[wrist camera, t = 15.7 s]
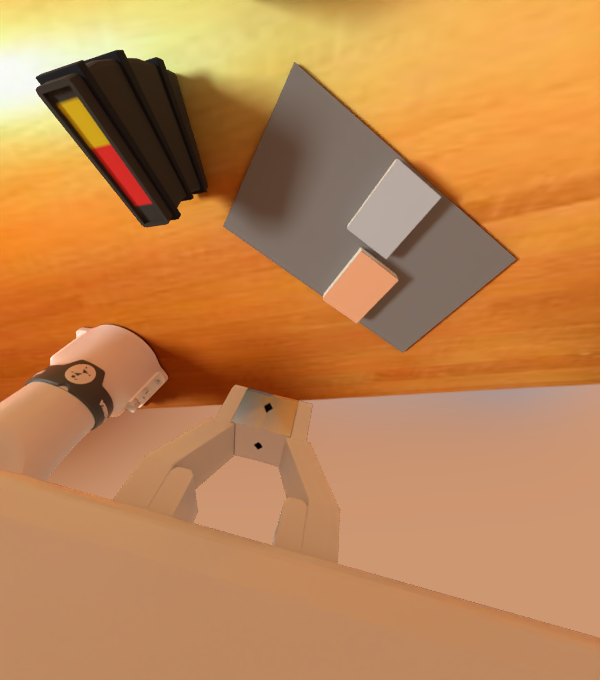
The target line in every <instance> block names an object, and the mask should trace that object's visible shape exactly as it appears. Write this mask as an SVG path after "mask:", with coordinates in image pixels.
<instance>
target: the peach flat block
mask: <svg viewBox="0 0 600 680" xmlns="http://www.w3.org/2000/svg"><path fill="white" fill-rule="evenodd" d="M397 282H398V277H397V275H396V274H395V273H394V272H393V271H391V270H390V269H389V268H388V267H386V266H385V265H384V264H382V263H381V262H380V261H379V260H377V259H376V258H375V257H373V256H372V255H371V254H369V253H368V252H367V251H366V250H364V249H363V248H362V247H361V248H360V249H359V250H358V251H357V253H356V254H355V255H354V256H353V258H352V259H351V260H350V261H349V263H348V264H347V265H346V266H345V268H344V269H343V270H342V271H341V273H340V274H339V275H338V276H337V278H336V279H335V280H334V281H333V283H332V284H331V285H330V286H329V288H328V289H327V290H326V291H325V293H324V295H323V299H322V300H324V301H325V302H326V303H328V304H329V305H331V306H332V307H334V308H335V309H336V310H338V311H339V312H341V313H342V314H344V315H345V316H346V317H348V318H349V319H351V320H352V321H354V322H355V323H356V324H357V323H358V322H359V321H360V320H361V319H362V318H363V317H364V315H365V314H366V313H367V312H368V311H369V310H370V309H371V308H372V307H373V306H374V305H375V304H376V303H377V302H378V301H379V300H380V299H381V298H382V297H383V296H384V295H385V294H386V293H387V292H388V291H389V290H390V289H391V288H392V287H393V286H394V285H395V284H396V283H397Z"/></svg>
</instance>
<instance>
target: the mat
mask: <svg viewBox="0 0 600 680" xmlns="http://www.w3.org/2000/svg"><path fill="white" fill-rule="evenodd" d="M395 159H399V160H400V161H401V162H402V163H403V164H404V165H406V166H407V167H408V168H409V169H410V170H411V171H412V172H413V173H415V174H416V175H417V176H418V177H419V178H420V179H421V180H423V181H424V182H425V183H426V184H427V185H428V186H429V187H430V188H432V189H433V190H434V191H435V192H436V193H437V194H438V195H439V196H441V198H440V199H439V201H438V202H437V203H436V204H435V205H434V206H433V207H432V208H431V210H430V211H429V212H428V213H427V214H426V215H425V216H424V217H423V219H422V220H421V221H420V222H419V223H418V224H417V225H416V226H415V228H414V229H413V230H412V231H411V232H410V233H409V234H408V235H407V237H406V238H405V239H404V240H403V241H402V242H401V243H400V244H399V246H398V247H397V248H396V249H395V250H394V251H393V252H392V253H391V255H390V256H389V257H388V258H387V259H385V258H384V257H382V256H381V255H380V254H379V253H377V252H376V251H375V250H373V249H372V248H371V247H370V246H368V245H367V244H366V243H364V242H363V241H362V240H361V239H359V238H358V237H357V236H356V235H354V234H353V233H352V232H350V231H349V230H348V229H347V225H348V224H349V223H350V221H351V220H352V218H353V217H354V216H355V214H356V213H357V212H358V210H359V209H360V207H361V206H362V205H363V203H364V202H365V201H366V199H367V198H368V196H369V195H370V194H371V192H372V191H373V190H374V188H375V187H376V185H377V184H378V183H379V181H380V180H381V179H382V177H383V176H384V174H385V173H386V172H387V170H388V169H389V167H390V166H391V165H392V163H393V162H394V161H395ZM224 227H225V228H226V229H228V230H229V231H231V232H232V233H233V234H235V235H236V236H238V237H239V238H241V239H242V240H243V241H245V242H246V243H248V244H249V245H250V246H252V247H253V248H255V249H256V250H258V251H259V252H260V253H262V254H263V255H265V256H266V257H268V258H269V259H270V260H272V261H273V262H275V263H276V264H277V265H279V266H280V267H282V268H283V269H285V270H286V271H287V272H289V273H290V274H292V275H293V276H294V277H296V278H297V279H299V280H300V281H302V282H303V283H304V284H306V285H307V286H309V287H310V288H311V289H313V290H314V291H316V292H317V293H319V294H320V295H321V296H323V295H324V293H325V291H326V290H327V289H328V288H329V286H330V285H331V284H332V283H333V281H334V280H335V279H336V278H337V276H338V275H339V274H340V273H341V271H342V270H343V269H344V268H345V266H346V265H347V264H348V263H349V261H350V260H351V259H352V258H353V256H354V255H355V254H356V253H357V251H358V250H359V249H360V248H361V247H362V248H363V249H364V250H366V251H367V252H368V253H369V254H371V255H372V256H373V257H375V258H376V259H377V260H379V261H380V262H381V263H382V264H384V265H385V266H386V267H388V268H389V269H390V270H391V271H393V272H394V273H395V274H396V275H397V277H398V282H397V283H396V284H395V285H394V286H393V287H392V288H391V289H390V290H389V291H388V292H387V293H386V294H385V295H384V296H383V297H382V298H381V299H380V300H379V301H378V302H377V303H376V304H375V305H374V306H373V307H372V308H371V309H370V310H369V311H368V312H367V313H366V314H365V315H364V317H363V318H362V319H361V320H360V321H359V322H360V323H361V324H363V325H364V326H365V327H367V328H368V329H370V330H371V331H372V332H374V333H375V334H377V335H378V336H380V337H381V338H382V339H384V340H385V341H387V342H388V343H390V344H391V345H392V346H394V347H395V348H397V349H398V350H399V351H401V352H402V353H403V352H404V351H405V350H406V349H408V348H409V347H410V346H411V345H412V344H414V343H415V342H416V341H417V340H419V339H420V338H421V337H422V336H423V335H425V334H426V333H427V332H428V331H430V330H431V329H432V328H433V327H434V326H436V325H437V324H438V323H439V322H441V321H442V320H443V319H444V318H445V317H447V316H448V315H449V314H450V313H452V312H453V311H454V310H455V309H456V308H458V307H459V306H460V305H461V304H462V303H464V302H465V301H466V300H467V299H469V298H470V297H471V296H472V295H473V294H475V293H476V292H477V291H478V290H480V289H481V288H482V287H483V286H484V285H486V284H487V283H488V282H489V281H491V280H492V279H493V278H494V277H495V276H497V275H498V274H499V273H500V272H502V271H503V270H504V269H505V268H506V267H508V266H509V265H510V264H511V263H513V262H514V261H515V260H516V258H514V257H513V256H512V255H511V254H510V253H509V252H508V251H507V250H505V249H504V248H503V247H502V246H501V245H500V244H499V243H498V242H496V241H495V240H494V239H493V238H492V237H491V236H490V235H489V234H487V233H486V232H485V231H484V230H483V229H482V228H481V227H480V226H478V225H477V224H476V223H475V222H474V221H473V220H472V219H471V218H469V217H468V216H467V215H466V214H465V213H464V212H463V211H462V210H460V209H459V208H458V207H457V206H456V205H455V204H454V203H453V202H451V201H450V200H449V199H448V198H447V197H446V196H445V195H444V194H442V193H441V192H440V191H439V190H438V189H437V188H436V187H435V186H433V185H432V184H431V183H430V182H429V181H428V180H427V179H426V178H424V177H423V176H422V175H421V174H420V173H419V172H418V171H417V170H415V169H414V168H413V167H412V166H411V165H410V164H409V163H408V162H406V161H405V160H404V159H403V158H402V157H401V156H400V155H399V154H397V153H396V152H395V151H394V150H393V149H392V148H391V147H390V146H388V145H387V144H386V143H385V142H384V141H383V140H382V139H381V138H379V137H378V136H377V135H376V134H375V133H374V132H373V131H372V130H370V129H369V128H368V127H367V126H366V125H365V124H364V123H363V122H361V121H360V120H359V119H358V118H357V117H356V116H355V115H354V114H352V113H351V112H350V111H349V110H348V109H347V108H346V107H345V106H343V105H342V104H341V103H340V102H339V101H338V100H337V99H336V98H334V97H333V96H332V95H331V94H330V93H329V92H328V91H327V90H325V89H324V88H323V87H322V86H321V85H320V84H319V83H317V82H316V81H315V80H314V79H313V78H312V77H311V76H310V75H308V74H307V73H306V72H305V71H304V70H303V69H302V68H301V67H299V66H298V65H297V64H296V63H295V62H294V65H293V67H292V69H291V71H290V74H289V76H288V78H287V81H286V83H285V85H284V88H283V90H282V92H281V94H280V97H279V99H278V101H277V104H276V106H275V108H274V111H273V113H272V115H271V117H270V120H269V122H268V124H267V127H266V129H265V131H264V134H263V136H262V138H261V140H260V143H259V145H258V147H257V150H256V152H255V154H254V157H253V159H252V161H251V163H250V166H249V168H248V170H247V173H246V175H245V177H244V180H243V182H242V184H241V186H240V189H239V191H238V193H237V196H236V198H235V200H234V203H233V205H232V207H231V209H230V212H229V214H228V216H227V219H226V221H225V223H224Z"/></svg>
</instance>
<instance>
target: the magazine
mask: <svg viewBox="0 0 600 680" xmlns="http://www.w3.org/2000/svg"><path fill="white" fill-rule="evenodd" d="M36 79H37V80H38V82H39V83H40V84H41V85H40V86H39V87H37V88H36V92H37V94H38V95H39V97H40V98H41V99H42V100H43V102H44V103H45V104H46V105H47V107H48V108H49V109H50V110H51V112H52V113H53V114H54V115H55V117H56V118H57V119H58V121H59V122H60V123H61V124H62V126H63V127H64V128H65V129H66V131H67V132H68V133H69V134H70V136H71V137H72V138H73V139H74V141H75V142H76V143H77V144H78V146H79V147H80V148H81V149H82V151H83V152H84V153H85V154H86V156H87V157H88V158H89V159H90V161H91V162H92V163H93V164H94V166H95V167H96V168H97V169H98V171H99V172H100V173H101V174H102V176H103V177H104V178H105V179H106V181H107V182H108V183H109V185H110V186H111V187H112V188H113V190H114V191H115V192H116V193H117V195H118V196H119V197H120V198H121V200H122V201H123V202H124V203H125V205H126V206H127V207H128V208H129V210H130V211H131V212H132V213H133V215H134V216H135V217H136V218H137V220H138V221H139V222H140V223H141V225H143V226H144V227H152V226H159V225H166V224H168V223H169V221H170V220H176V219H179V217H180V215H181V214H180V212H179V211H178V209H177V207H178V205H179V204H180V202H181V201H186V200H191V199H193V198H194V197H193V195H192V194H198V193H203V192H207V191H206V188H207V187H208V185H207V182H206V178H205V175H204V171H203V168H202V164H201V161H200V157H199V154H198V150H197V147H196V143H195V140H194V136H193V133H192V130H191V126H190V123H189V119H188V116H187V112H186V109H185V105H184V102H183V98H182V95H181V91H180V88H179V84H178V81H177V77H176V75H175V73H173V72H171V71H169V70H166V67H165V64H164V61H163V60H162V59H160V58H157V57H155V58H152V59H149V60H146V61H143V60H140V59H136V58H127V57H126V55H125V53H124V51H123V50H115V51H112V52H109V53H107V54H104V55H101V56H98V57H95V58H92V59H89V60H86V61H83V60H81V61H78V62H75V63H72V64H69V65H66V66H63V67H60V68H57V69H55V70H52V71H49V72H46V73H43V74H41V75H39V76H37V77H36Z"/></svg>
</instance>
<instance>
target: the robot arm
mask: <svg viewBox="0 0 600 680" xmlns="http://www.w3.org/2000/svg"><path fill="white" fill-rule="evenodd" d="M76 336H77V338H76V339H75V340H74V341H72V342H71V343H69V344H68V345H67V346H65V347H64V348H63V349H61V350H60V351H58V352H57V353H56V354H54V355H53V356H52V357H51V359H50V360H51V361H50V365H51V366H49V367H47V368H46V369H44V370H43V371H40V372H38V373H37V374H35V375H34V376H33V377H32V378H31V379H30V380H28V381H27V382H26V384H25V387H23V388H22V389H20V390H19V391H17V392H16V393H14V394H12V395H11V396H9V397H8V398H6V399H5V400H3V401H2V402H0V680H600V638H598V637H595V636H591V635H588V634H584V633H581V632H577V631H574V630H570V629H567V628H563V627H560V626H556V625H552V624H549V623H545V622H542V621H538V620H535V619H531V618H527V617H524V616H521V615H517V614H514V613H510V612H506V611H503V610H499V609H496V608H492V607H489V606H485V605H482V604H478V603H475V602H471V601H467V600H464V599H461V598H457V597H453V596H450V595H446V594H443V593H439V592H436V591H432V590H428V589H425V588H422V587H418V586H414V585H411V584H407V583H404V582H400V581H397V580H393V579H390V578H386V577H383V576H379V575H376V574H372V573H368V572H365V571H361V570H358V569H354V568H351V567H347V566H344V565H340V564H338V547H339V523H340V508H339V506H338V504H337V502H336V499H335V497H334V495H333V493H332V491H331V488H330V486H329V484H328V482H327V480H326V477H325V475H324V473H323V470H322V468H321V466H320V464H319V462H318V459H317V457H316V455H315V453H314V450H313V448H312V446H311V444H310V443H308V442H306V440H307V434H308V429H309V422H310V417H311V412H312V404H311V403H307V402H303V401H299V400H295V399H291V398H287V397H282V396H278V395H273V394H269V393H265V392H262V391H258V390H255V389H251V388H247V387H243V386H240V385H236V384H235V385H234V386H233V387H232V389H231V391H230V393H229V394H228V396H227V398H226V400H225V401H224V403H223V405H222V407H221V409H220V411H219V412H218V414H217V416H216V418H212V417H211V418H209V419H207V420H206V421H204V422H202V423H201V424H199V425H197V426H195V427H194V428H192V429H190V430H189V431H187V432H185V433H183V434H182V435H180V436H178V437H177V438H175V439H173V440H171V441H170V442H168V443H167V444H165V445H163V446H161V447H159V448H158V449H156V450H154V451H153V452H151V453H149V454H147V455H146V456H145V457H144V458H143V459H142V461H141V462H140V463H139V465H138V466H137V468H136V469H135V470H134V472H133V473H132V474H131V476H130V477H129V478H128V480H127V481H126V482H125V484H124V485H123V487H122V488H121V489H120V491H119V492H118V493H117V495H116V496H115V497H114V499H113V500H110V499H107V498H103V497H99V496H96V495H92V494H88V493H85V492H82V491H78V490H75V489H71V488H68V487H64V486H61V485H57V484H53V483H50V482H46V480H47V479H48V477H49V476H50V474H51V473H52V472H53V470H54V469H55V468H56V467H57V466H58V464H59V463H60V462H61V461H62V460H63V459H64V457H65V456H66V455H67V454H68V453H69V452H70V451H71V450H72V449H73V447H74V446H75V445H76V444H77V443H78V442H79V441H80V440H81V439H82V438H83V437H84V436H85V435H86V434H87V433H88V432H89V431H91V430H94V429H95V428H97V427H98V426H100V425H101V424H102V423H104V421H106V419H107V418H109V417H115V416H119V415H120V414H121V413H122V412H123V411H124V410H125V409H127V410H129V411H131V412H134V411H135V410H136V409H137V408H140V407H141V406H143V405H144V404H145V403H146V402H147V401H148V400H149V399H150V398H151V397H152V395H153V394H154V393H155V392H156V391H157V390H158V389H159V388H160V387H161V386H162V385H163V384H164V383H165V382H166V381H167V380H168V375H167V374H166V373H165V371H164V370H163V369H162V368H161V367H160V365H159V362H158V360H157V357H156V356H155V354H154V352H153V351H152V349H151V348H150V347H149V346H148V345H147V344H146V343H145V342H144V341H143V340H142V339H141V338H140V337H138V336H137V335H135V334H134V333H132V332H130V331H129V330H126V329H124V328H122V327H119V326H115V325H101V326H98V327H95V328H80V329H79V330H77V331H76ZM298 402H299V403H298ZM233 455H236V456H240V457H245V458H249V459H253V460H257V461H261V462H264V463H267V464H271V465H274V466H277V467H279V471H280V475H281V479H282V483H283V487H284V490H285V494H286V498H287V499H286V500H285V501H284V504H283V508H282V511H281V514H280V518H279V521H278V525H277V528H276V531H275V535H274V540H273V544H272V545H269V544H266V543H262V542H259V541H255V540H251V539H248V538H245V537H241V536H237V535H234V534H230V533H227V532H223V531H220V530H216V529H213V528H209V527H206V526H202V525H199V524H195V523H193V522H194V520H195V518H196V515H197V513H198V508H197V500H196V493H195V489H196V488H197V487H198V486H200V485H201V484H202V483H203V482H204V481H206V480H207V479H208V478H209V477H210V476H211V475H213V474H214V473H215V472H216V471H217V470H218V469H219V468H221V467H222V466H223V465H224V464H225V463H226V462H227V461H229V460H230V459H231V458H232V457H233Z"/></svg>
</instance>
